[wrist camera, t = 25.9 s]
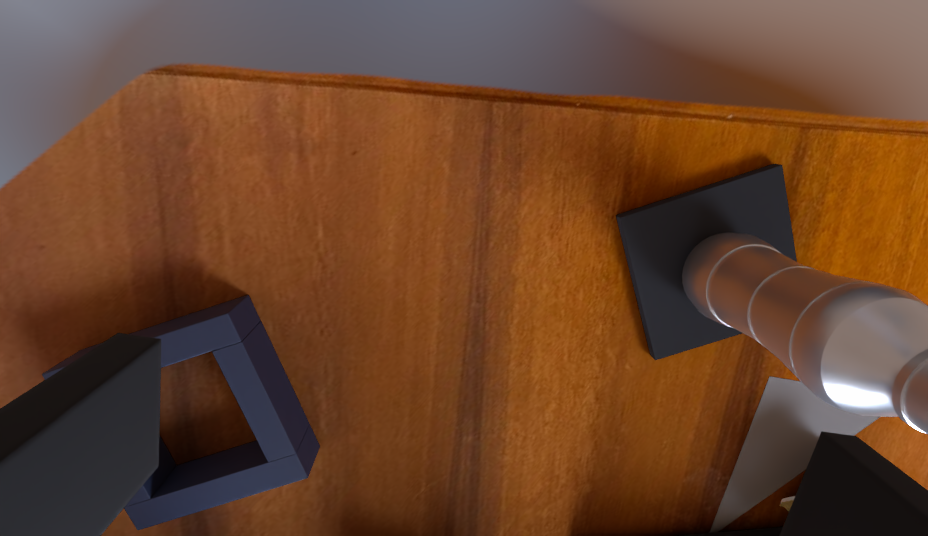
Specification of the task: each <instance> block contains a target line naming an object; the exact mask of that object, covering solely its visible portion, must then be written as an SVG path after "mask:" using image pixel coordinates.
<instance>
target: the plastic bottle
mask: <svg viewBox="0 0 928 536" xmlns="http://www.w3.org/2000/svg"><path fill="white" fill-rule="evenodd" d="M682 283H683V287H684V291H685V293H686V295H687V297H688V298H689V300H690V301H691V302H692V303H693V305H694V306H695V307H696V308H697V310H698V311H699V312H700V313H702V314H703V315H704V316H706V317H707V318H710V319H712V320H714V321H716V322H718V323H720V324H722V325H725V326H729V327H732V328H735V329H736V330H738V331H740V332H742V333H744V334H746V335H748V336H750V337H751V338H753V339H755V340H756V341H758V342H759V343H760V344H761V345H763V346H764V347H765V348H766V349H768V350H769V351H770V352H771V353H773V354H774V355H775V356H776V357H778V358H779V359H780V360H781V361H782V362H783V363H784V365H785V366H786V367H787V368H788V369H789V370H790V371H791V372H792V373H793V374H794V375H795V376H796V377H797V378H798V379H799V380H800V381H801V382H802V383H803V384H804V385H805V386H806V387H807V388H808V389H809V390H811V391H812V392H813V393H814V394H815V395H816V396H818V397H819V398H820V399H821V400H823V401H824V402H825V403H827V404H829V405H831V406H834V407H836V408H838V409H842V410H845V411H848V412H851V413H854V414H858V415H862V416H882V417H898V416H899V418H900V419H901V420H903V421H904V422H905V423H906V424H908V425H910V426H911V427H913V428H914V429H916V430H918V431H920V432H923V433H926V434H928V306H927V305H926V304H925V303H923V302H922V301H921V300H920V299H918V298H917V297H916V296H914V295H912V294H910V293H908V292H906V291H904V290H901V289H897V288H893V287H890V286H886V285H883V284H879V283H873V282H868V281H863V280H858V279H852V278H847V277H842V276H837V275H833V274H830V273H826V272H823V271H820V270H816V269H813V268H810V267H807V266H804V265H802V264H800V263H798V262H796V261H794V260H792V259H790V258H788V257H787V256H785V255H783V254H781V253H780V252H779V251H778V250H776V249H775V248H774V247H773V246H771V245H770V244H768V243H766V242H765V241H763V240H761V239H759V238H758V237H756V236H753V235H749V234H742V233H719V234H716V235H713V236H710V237H708V238H706V239H704V240H703V241H701V242H700V243H699V244H698V245H696V246H695V248H694V249H693V250H692V251H691V252H690V254H689V256H688V257H687V259H686V261H685V264H684V267H683V273H682Z"/></svg>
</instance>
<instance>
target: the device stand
mask: <svg viewBox="0 0 928 536" xmlns="http://www.w3.org/2000/svg"><path fill="white" fill-rule="evenodd" d="M782 528H783V527H776V528H764V529H752V530H740V531H729V532H717V533H705V534H693V535H681V536H779V535H780V533H781V530H782Z"/></svg>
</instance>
